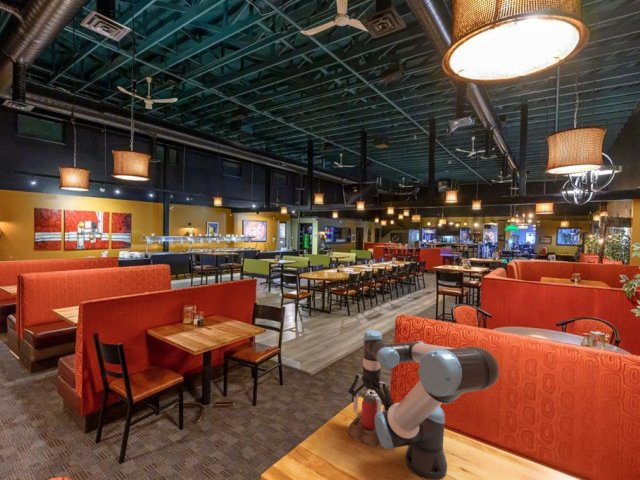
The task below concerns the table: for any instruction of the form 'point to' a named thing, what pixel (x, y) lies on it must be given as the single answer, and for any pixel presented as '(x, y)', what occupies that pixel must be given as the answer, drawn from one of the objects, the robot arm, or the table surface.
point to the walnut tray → (363, 433)
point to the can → (373, 393)
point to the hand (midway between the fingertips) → (369, 415)
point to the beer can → (369, 412)
